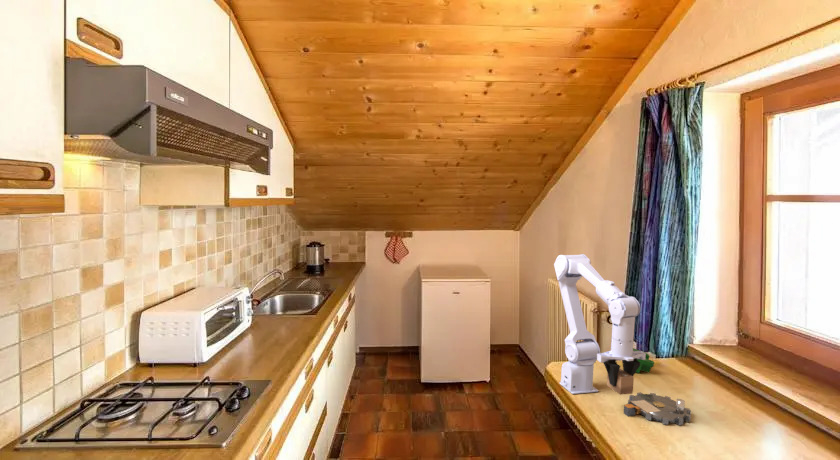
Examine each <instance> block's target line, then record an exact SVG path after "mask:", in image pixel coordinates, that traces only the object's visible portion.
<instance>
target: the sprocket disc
mask: <svg viewBox="0 0 840 460" xmlns="http://www.w3.org/2000/svg"><path fill="white" fill-rule="evenodd" d="M628 398H629V399H628V401H627V404H632V405H634V406H635V407H636V408H635V415H642V416H643V417H645V419H646V420H648V421H652V420H653V421H657V422H661V423H662V425H667V426H668V425H669V424H676V425H677V426H682V425H684V422H688V423H690V422H691V421H692V420H691V419H692V410H691V409H690V408H688V407H685V405H686V402H685V400H684V399H681V398H676V400H674V399H672V398H671V397H670V396H667V395H665V396H663V395H662V396H661V395H658V394H656V393H655V392H654V393H653V392H650V393H643V392H641V391H640V392H637V393H636V395H633V394H629V396H628Z"/></svg>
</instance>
